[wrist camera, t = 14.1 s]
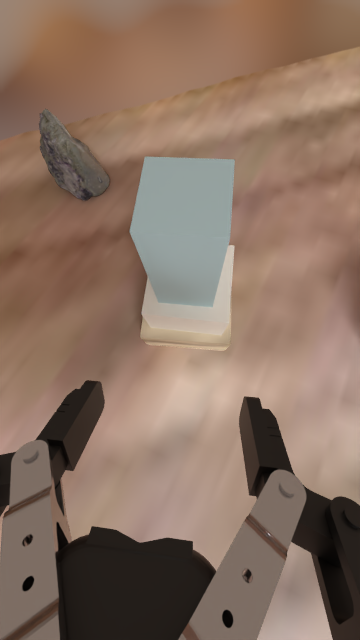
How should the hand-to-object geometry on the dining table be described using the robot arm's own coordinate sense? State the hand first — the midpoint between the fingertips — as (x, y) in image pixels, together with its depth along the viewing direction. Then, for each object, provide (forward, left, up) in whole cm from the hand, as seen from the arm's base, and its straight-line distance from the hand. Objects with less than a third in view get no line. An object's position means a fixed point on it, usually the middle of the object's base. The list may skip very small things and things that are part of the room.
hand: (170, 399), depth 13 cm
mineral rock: (-38, +13, -16) cm, 43 cm away
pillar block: (-7, +8, -6) cm, 12 cm away
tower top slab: (-7, +8, -11) cm, 15 cm away
